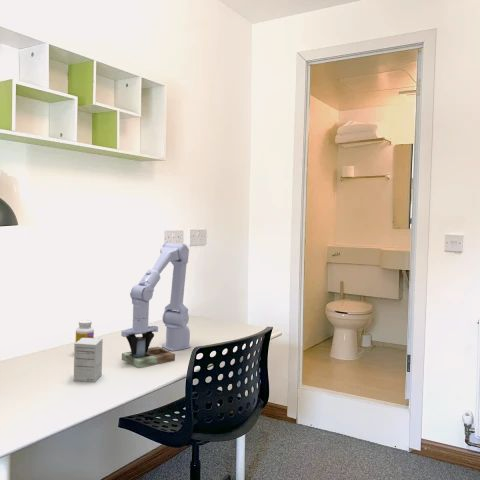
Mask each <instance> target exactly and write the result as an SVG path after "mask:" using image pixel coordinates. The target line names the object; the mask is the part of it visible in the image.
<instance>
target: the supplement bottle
mask: <svg viewBox="0 0 480 480" xmlns="http://www.w3.org/2000/svg"><path fill="white" fill-rule="evenodd" d="M94 331H95V330H94V328H93V327H92V320H88V319H85V320H84V319H83V320H79V321H78V327H77V328H76V330H75V343H76V342H77V341H79V340H80V339H81V338H94V335H95V332H94Z"/></svg>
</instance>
